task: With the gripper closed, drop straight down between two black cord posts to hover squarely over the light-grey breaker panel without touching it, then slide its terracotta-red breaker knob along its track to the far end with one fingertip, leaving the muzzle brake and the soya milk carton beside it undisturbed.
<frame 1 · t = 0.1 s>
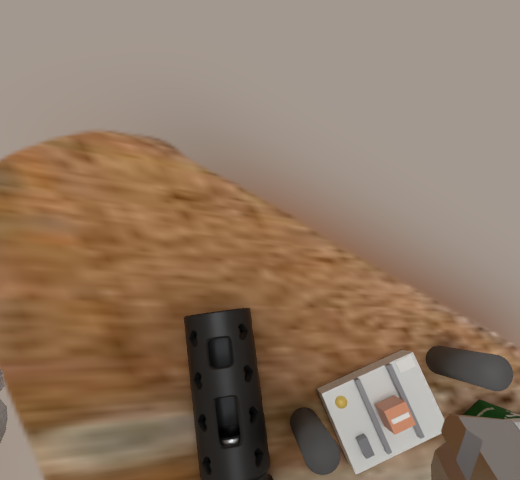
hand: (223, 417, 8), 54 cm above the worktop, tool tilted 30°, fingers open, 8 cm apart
breaker panel: (375, 405, 60), on the worktop
cord post near strip: (304, 422, 59), on the worktop
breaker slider: (394, 414, 53), point 6 cm above the worktop, slide at 0.0 cm
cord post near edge: (439, 359, 61), on the worktop
soya milk: (478, 435, 60), on the worktop
muzzle brake: (231, 410, 59), on the worktop
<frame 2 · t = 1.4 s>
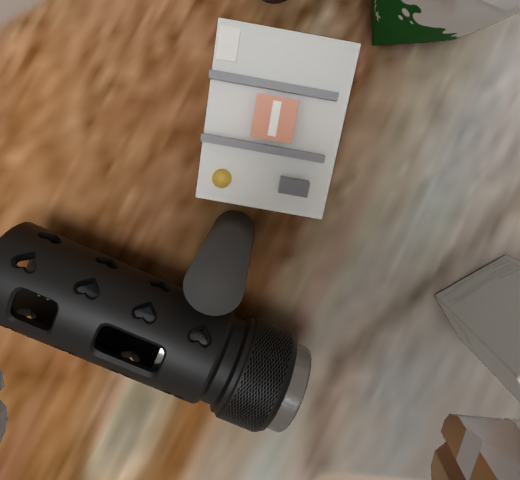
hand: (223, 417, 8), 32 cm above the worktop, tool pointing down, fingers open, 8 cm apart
breaker panel: (273, 124, 37), on the worktop
cord post near strip: (234, 230, 40), on the worktop
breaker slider: (274, 118, 31), point 6 cm above the worktop, slide at 0.0 cm
skincare box: (481, 293, 41), on the worktop
muzzle brake: (169, 302, 43), on the worktop
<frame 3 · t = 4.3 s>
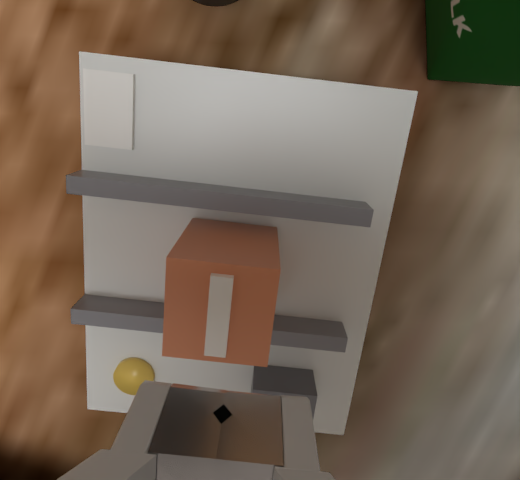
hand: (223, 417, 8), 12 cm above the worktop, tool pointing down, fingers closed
breaker panel: (237, 238, 19), on the worktop
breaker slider: (225, 285, 13), point 6 cm above the worktop, slide at 0.0 cm
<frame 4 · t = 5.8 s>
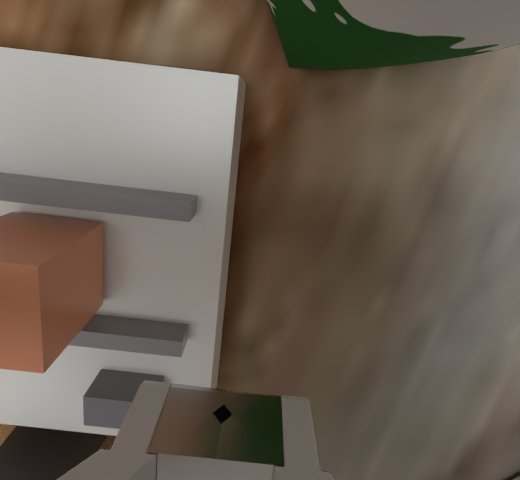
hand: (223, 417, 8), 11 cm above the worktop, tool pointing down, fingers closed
breaker panel: (106, 236, 18), on the worktop
cord post near strip: (68, 423, 21), on the worktop
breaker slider: (23, 284, 12), point 6 cm above the worktop, slide at 0.0 cm
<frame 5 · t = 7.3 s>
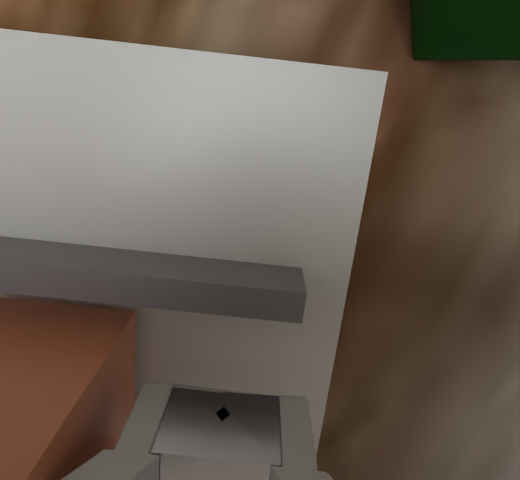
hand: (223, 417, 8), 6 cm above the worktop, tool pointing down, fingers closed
breaker panel: (137, 299, 13), on the worktop
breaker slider: (4, 442, 7), point 6 cm above the worktop, slide at 0.3 cm, touching gripper
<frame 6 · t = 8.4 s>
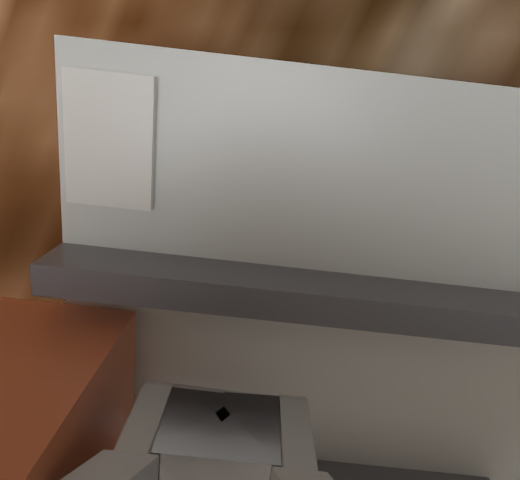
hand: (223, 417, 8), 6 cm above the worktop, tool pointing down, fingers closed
breaker panel: (299, 317, 13), on the worktop
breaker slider: (4, 442, 7), point 6 cm above the worktop, slide at 5.4 cm, touching gripper
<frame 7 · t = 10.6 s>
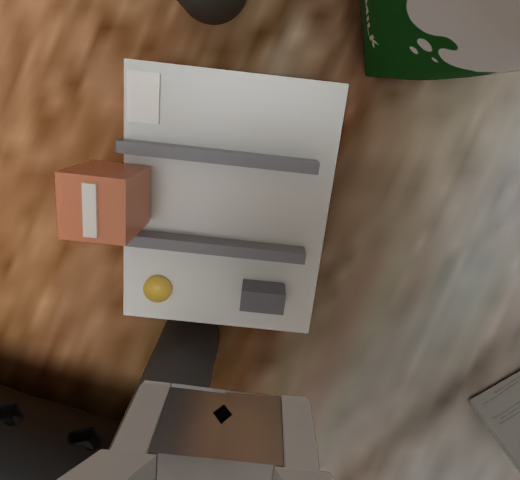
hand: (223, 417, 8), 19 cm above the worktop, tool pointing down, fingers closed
breaker panel: (231, 194, 26), on the worktop
cord post near strip: (191, 336, 29), on the worktop
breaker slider: (107, 200, 20), point 6 cm above the worktop, slide at 5.5 cm
muzzle brake: (116, 426, 32), on the worktop
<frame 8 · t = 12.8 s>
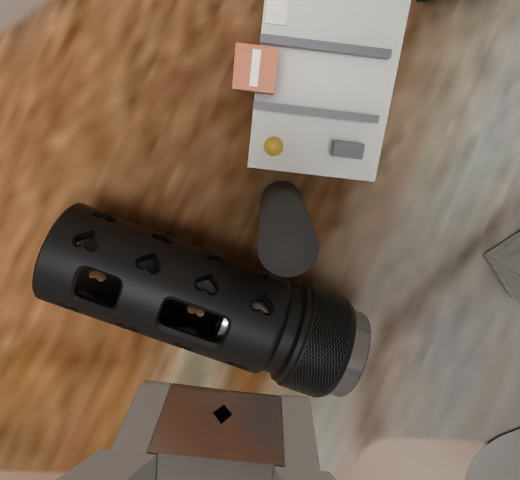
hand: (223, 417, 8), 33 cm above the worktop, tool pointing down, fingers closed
breaker panel: (318, 89, 37), on the worktop
cord post near strip: (281, 201, 40), on the worktop
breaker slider: (256, 70, 31), point 6 cm above the worktop, slide at 5.5 cm
muzzle brake: (218, 278, 43), on the worktop
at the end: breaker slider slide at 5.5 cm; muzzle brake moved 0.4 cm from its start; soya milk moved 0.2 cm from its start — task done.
